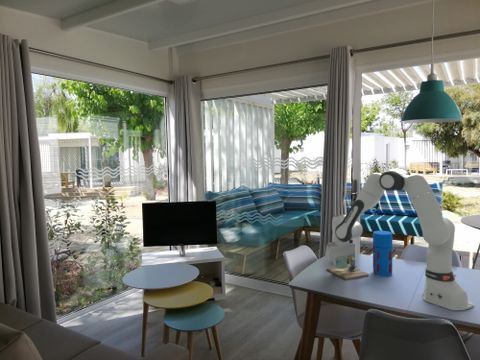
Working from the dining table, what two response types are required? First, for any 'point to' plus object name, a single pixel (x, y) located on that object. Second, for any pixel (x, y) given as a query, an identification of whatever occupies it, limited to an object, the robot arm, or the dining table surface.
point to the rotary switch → (340, 263)
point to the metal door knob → (352, 265)
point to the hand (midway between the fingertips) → (339, 263)
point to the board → (347, 273)
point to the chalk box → (351, 256)
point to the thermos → (382, 253)
